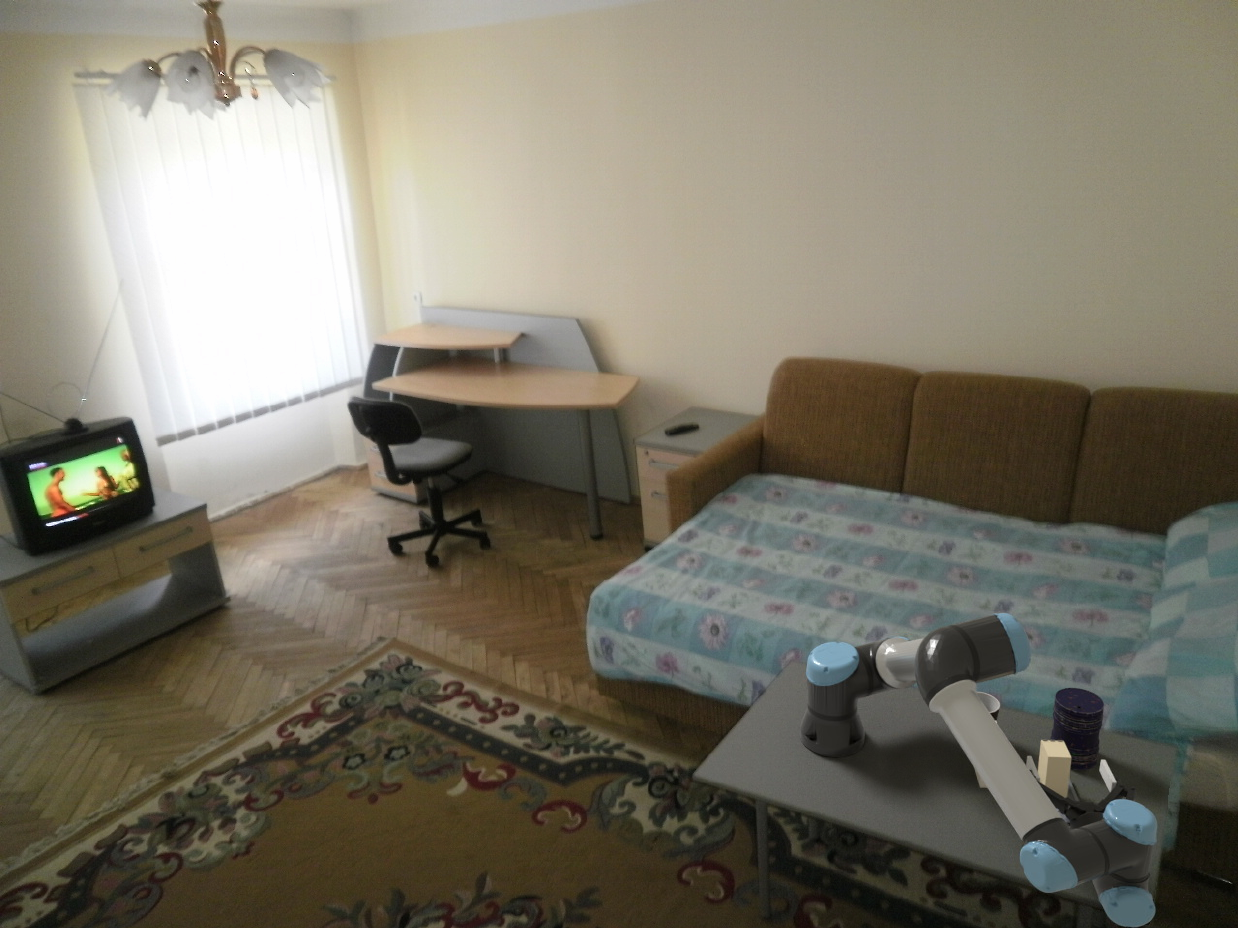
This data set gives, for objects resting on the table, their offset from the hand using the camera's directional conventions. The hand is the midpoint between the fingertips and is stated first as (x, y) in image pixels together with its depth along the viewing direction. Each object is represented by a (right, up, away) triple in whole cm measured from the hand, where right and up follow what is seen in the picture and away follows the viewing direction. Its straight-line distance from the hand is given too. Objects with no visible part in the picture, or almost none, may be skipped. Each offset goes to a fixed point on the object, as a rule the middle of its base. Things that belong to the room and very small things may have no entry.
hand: (1065, 763), depth 177 cm
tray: (+4, -11, +14) cm, 18 cm away
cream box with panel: (-7, -10, +21) cm, 24 cm away
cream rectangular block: (+4, -11, +14) cm, 18 cm away
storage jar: (+14, -7, +25) cm, 29 cm away
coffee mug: (-6, -5, +33) cm, 34 cm away
